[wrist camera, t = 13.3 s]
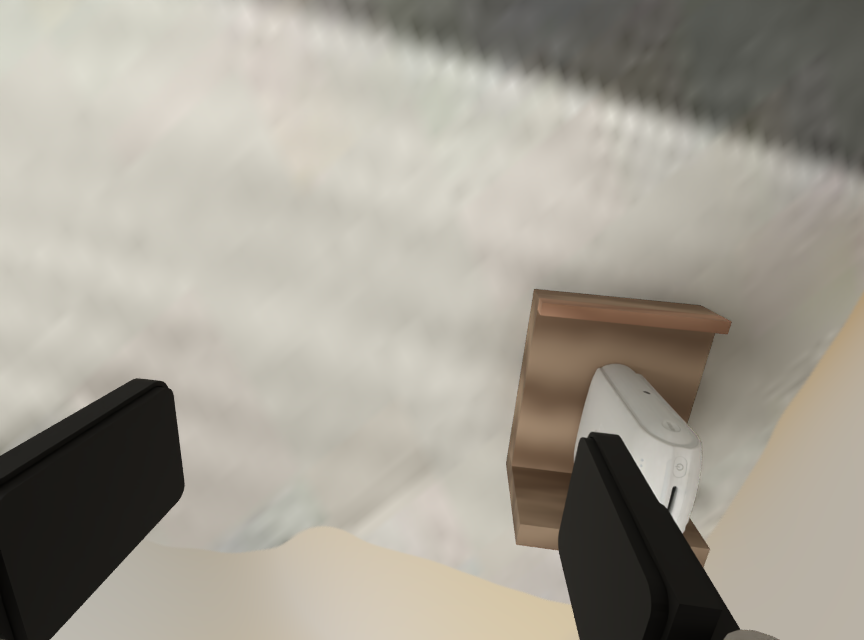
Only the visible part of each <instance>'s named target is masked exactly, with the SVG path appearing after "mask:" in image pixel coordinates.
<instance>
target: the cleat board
mask: <svg viewBox="0 0 864 640" xmlns="http://www.w3.org/2000/svg"><path fill="white" fill-rule="evenodd" d="M731 323H732V322H731V321H729V320H727V319H725V318H724V317H722V316H720V315H718V314H716V313H714V312H712V311H710V310H708V309H706V308H705V307H703V306H701V305H691V304H681V303H671V302H661V301H651V300H641V299H630V298H620V297H610V296H600V295H590V294H580V293H570V292H559V291H549V290H539V289H534V293H533V299H532V306H531V312H530V318H529V324H528V330H527V337H526V343H525V349H524V355H523V362H522V368H521V374H520V380H519V387H518V393H517V399H516V405H515V411H514V418H513V424H512V430H511V436H510V443H509V449H508V455H507V461H506V467H507V475H508V483H509V491H510V499H511V507H512V515H513V523H514V531H515V539H516V545H523V546H530V547H537V548H545V549H552V550H559V549H558V534H559V529H560V525H561V520H562V515H563V511H564V506H565V502H566V497H567V493H568V488H569V484H570V479H571V475H572V470H573V465H574V448H575V443H576V438H577V434H578V429H579V425H580V420H581V417H582V412H583V409H584V405H585V401H586V398H587V394H588V391H589V387H590V384H591V381H592V378H593V376H594V374H595V372H596V370H597V369H598V368H602V367H603V366H605V365H609V364H622V365H625V366H628V367H629V368H631V369H632V370H633V371H634V372H635V373H637V374H641V375H642V376H643V377H644V378H645V379H646V380H647V381H648V382H649V383H650V384H651V385H652V387H653V388H654V389H655V390H656V391H657V392H658V393H659V394H660V395H661V396H662V398H663V399H664V400H665V401H666V402H667V403H668V404H669V405H670V406H671V407H672V408H673V409H674V411H675V412H676V413H677V414H678V415H679V416H680V417H681V418H682V419H683V420H684V421H685V422H686V423H688V419H689V416H690V413H691V410H692V407H693V403H694V400H695V397H696V394H697V390H698V387H699V384H700V381H701V377H702V374H703V371H704V368H705V364H706V361H707V358H708V355H709V351H710V348H711V345H712V342H713V338H714V335H715V333H719V334H728V332H729V329H730V326H731ZM683 535H684V537H685V539H686V540H687V542H688V544H689V545H690V547H691V549H692V550H693V552H694V554H695V555H696V557H697V558H698V560H699V562H700V563H701V565H702V567H704V564H705V561H706V559H707V556H708V553H709V550H710V548H709V547H708V545H707V544H706V542H705V541H704V539H703V538H702V536H701V535H700V533H699V531H698V530H697V528H696V527H695V525H694V524H693V522H692V521H691V519H690V518H689V521H688V523H687V525H686V527H685V531H684V532H683Z"/></svg>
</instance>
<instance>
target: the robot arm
mask: <svg viewBox="0 0 864 640" xmlns="http://www.w3.org/2000/svg"><path fill="white" fill-rule="evenodd" d="M183 491H184V475H183V467H182V459H181V451H180V443H179V435H178V427H177V419H176V411H175V402H174V395H173V392H172V390H171V389H169V388H168V386H167V385H166V383H164V382H163V381H156V380H148V379H137V378H136V379H133V380H131V381H129V382H128V383H126V384H124V385H122V386H121V387H119V388H117V389H115V390H114V391H112V392H110V393H109V394H107V395H105V396H103V397H102V398H100V399H98V400H96V401H95V402H93V403H91V404H89V405H88V406H86V407H84V408H83V409H81V410H79V411H77V412H76V413H74V414H72V415H70V416H69V417H67V418H65V419H63V420H62V421H60V422H58V423H57V424H55V425H53V426H51V427H50V428H48V429H46V430H44V431H43V432H41V433H39V434H37V435H36V436H34V437H32V438H30V439H29V440H27V441H25V442H24V443H22V444H20V445H18V446H17V447H15V448H13V449H11V450H10V451H8V452H6V453H4V454H3V455H1V456H0V640H50V639H51V638H52V637H53V636H54V635H55V634H56V633H57V632H58V630H59V629H60V628H61V627H62V626H63V625H64V624H65V623H66V622H67V621H68V620H69V619H70V618H71V616H72V615H73V614H74V613H75V612H76V611H77V610H78V609H79V608H80V606H82V605H83V603H84V602H85V601H86V600H87V599H88V598H89V597H90V596H91V595H92V594H93V593H94V591H95V590H96V589H97V588H98V587H99V586H100V585H101V584H102V583H103V582H104V581H105V580H106V579H107V577H108V576H109V575H110V574H111V573H112V572H113V571H114V570H115V569H116V568H117V567H118V566H119V564H120V563H121V562H122V561H123V560H124V559H125V558H126V557H127V556H128V555H129V554H130V553H131V552H132V550H133V549H134V548H135V547H136V546H137V545H138V544H139V543H140V542H141V541H142V540H143V539H144V538H145V536H146V535H147V534H148V533H149V532H150V531H151V530H152V529H153V528H154V527H155V526H156V525H157V523H158V522H159V521H160V520H161V519H162V518H163V517H164V516H165V515H166V514H167V513H168V512H169V510H170V509H171V508H172V507H173V506H174V505H175V504H176V503H177V502H178V501H179V499H180V498H181V496H182V494H183ZM558 549H559V555H560V559H561V563H562V567H563V571H564V576H565V580H566V584H567V588H568V592H569V597H570V601H571V605H572V609H573V613H574V618H575V622H576V626H577V630H578V634H579V638H580V640H779V639H777V638H775V637H773V636H770V635H767V634H764V633H761V632H758V631H753V630H740V628H739V626H738V625H737V623H736V621H735V620H734V618H733V616H732V615H731V613H730V611H729V610H728V609H727V607H726V605H725V603H724V602H723V600H722V598H721V597H720V595H719V593H718V592H717V590H716V588H715V587H714V585H713V583H712V582H711V580H710V578H709V577H708V575H707V573H706V572H705V570H704V568H703V567H702V565H701V563H700V562H699V560H698V558H697V557H696V555H695V554H694V552H693V550H692V549H691V547H690V545H689V544H688V542H687V540H686V539H685V537H684V535H683V534H682V532H681V530H680V529H679V527H678V525H677V524H676V522H675V520H674V519H673V517H672V515H671V514H670V512H669V511H668V509H667V508H666V507H665V506H664V505H663V504H661V503H659V501H658V499H657V498H656V496H655V494H654V493H653V491H652V489H651V488H650V486H649V484H648V483H647V481H646V479H645V477H644V476H643V474H642V472H641V471H640V469H639V467H638V466H637V464H636V462H635V461H634V459H633V457H632V455H631V454H630V452H629V450H628V449H627V447H626V445H625V444H624V442H623V440H622V438H621V437H620V436H619V435H617V434H608V433H600V432H590V433H589V435H588V438H585V437H581V438H580V440H579V443H578V447H577V452H576V456H575V461H574V465H573V470H572V475H571V479H570V484H569V488H568V493H567V497H566V502H565V506H564V511H563V515H562V520H561V525H560V529H559V534H558Z"/></svg>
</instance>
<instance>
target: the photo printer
mask: <svg viewBox="0 0 864 640" xmlns="http://www.w3.org/2000/svg"><path fill="white" fill-rule="evenodd" d="M590 432H600V433H608V434H617V435H619V436H620V437H621V438H622V440H623V442H624V444H625V445H626V447H627V449H628V450H629V452H630V454H631V455H632V457H633V459H634V461H635V462H636V464H637V466H638V467H639V469H640V471H641V472H642V474H643V476H644V477H645V479H646V481H647V483H648V484H649V486H650V488H651V489H652V491H653V493H654V494H655V496H656V498H657V499H658V501H659V503H661V504H663V505H664V506H665V507H666V508H667V509H668V511H669V512H670V514H671V515H672V517H673V519H674V520H675V522H676V524H677V525H678V527H679V529H680V530H681V532H682V534H683V532H684V531H685V527H686V525H687V523H688V521H689V516H690V514H691V511H692V508H693V505H694V502H695V498H696V494H697V490H698V485H699V480H700V474H701V466H702V444H701V441H700V438H699V437H698V435H697V434H696V433H695V432H694V431H693V430H692V429H691V428H690V427H689V426H688V425H687V423H686V422H685V421H684V420H683V419H682V418H681V417H680V416H679V415H678V414H677V413H676V412H675V411H674V409H673V408H672V407H671V406H670V405H669V404H668V403H667V402H666V401H665V400H664V399H663V398H662V396H661V395H660V394H659V393H658V392H657V391H656V390H655V389H654V388H653V387H652V385H651V384H650V383H649V382H648V381H647V380H646V379H645V378H644V377H643V376H642V375H641V374H637V373H635V372H634V371H633V370H632V369H631V368H629V367H628V366H625V365H622V364H609V365H605V366H603V367H602V368H598V369H597V370H596V372H595V374H594V376H593V378H592V381H591V384H590V387H589V391H588V394H587V398H586V401H585V405H584V409H583V412H582V417H581V420H580V425H579V429H578V434H577V438H576V443H575V448H574V461H575V456H576V452H577V447H578V443H579V440H580V438H581V437H585V438H588V435H589V433H590Z"/></svg>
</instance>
